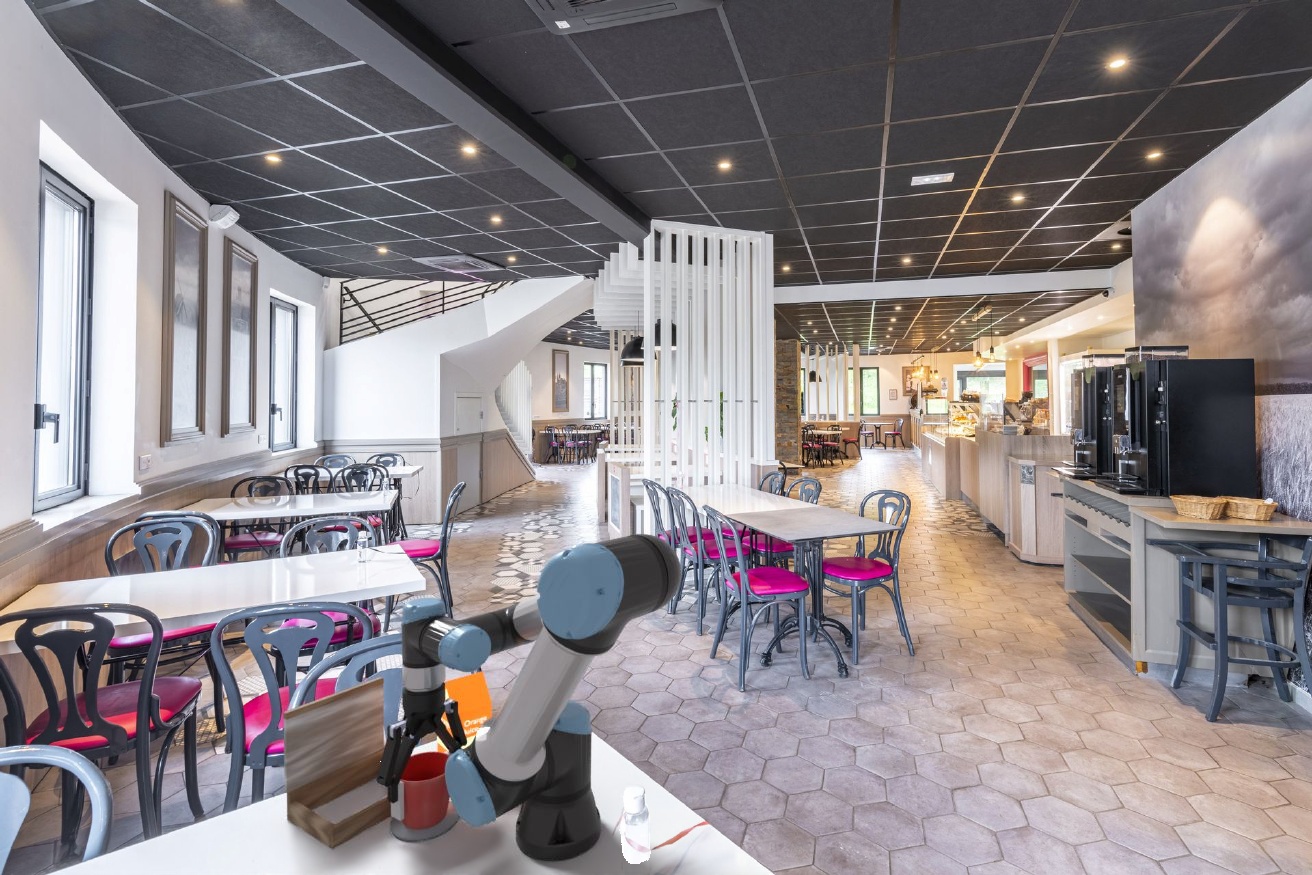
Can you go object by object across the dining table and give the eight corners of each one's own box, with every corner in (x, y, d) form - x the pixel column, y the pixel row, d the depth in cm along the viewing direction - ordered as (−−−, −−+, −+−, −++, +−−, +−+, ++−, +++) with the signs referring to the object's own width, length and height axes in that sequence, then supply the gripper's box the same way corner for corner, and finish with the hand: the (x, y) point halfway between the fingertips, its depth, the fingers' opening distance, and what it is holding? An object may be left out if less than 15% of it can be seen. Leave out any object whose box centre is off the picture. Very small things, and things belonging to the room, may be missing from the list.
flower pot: (436, 838, 114) (436, 784, 114) (380, 831, 116) (380, 777, 116) (466, 804, 125) (465, 754, 124) (414, 797, 127) (413, 748, 127)
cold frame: (429, 793, 129) (429, 694, 129) (332, 849, 112) (331, 735, 112) (377, 767, 139) (376, 675, 138) (280, 815, 122) (279, 710, 121)
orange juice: (436, 769, 138) (436, 676, 138) (475, 755, 144) (475, 665, 144) (453, 784, 132) (452, 687, 132) (492, 769, 138) (492, 676, 138)
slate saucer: (472, 815, 122) (472, 811, 122) (417, 850, 112) (417, 846, 112) (431, 794, 129) (431, 791, 129) (376, 826, 119) (376, 822, 119)
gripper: (460, 660, 132) (461, 767, 132) (353, 701, 112) (354, 826, 113) (486, 668, 127) (486, 778, 128) (379, 712, 108) (380, 842, 109)
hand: (424, 801), depth 120 cm, fingers closed on flower pot, 11 cm apart
